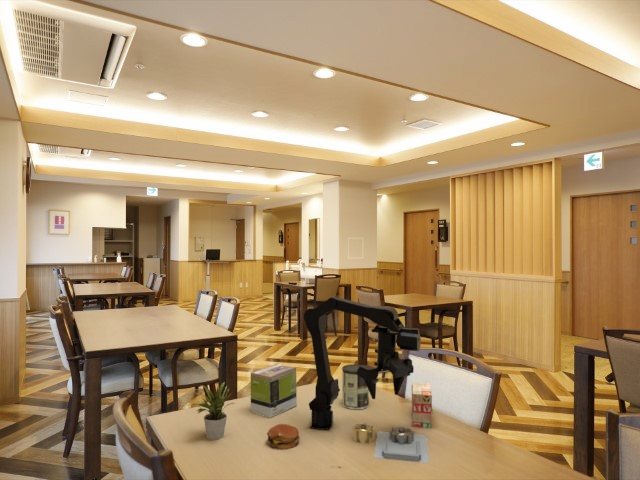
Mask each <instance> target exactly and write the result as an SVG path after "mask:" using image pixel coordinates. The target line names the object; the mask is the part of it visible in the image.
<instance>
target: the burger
mask: <svg viewBox="0 0 640 480" xmlns="http://www.w3.org/2000/svg"><path fill="white" fill-rule="evenodd" d="M266 435H267V442H269V445H270V446H272V447H273V448H277V449H278V450H289V449H292V448H294V447H295V446H296V445H297V444H298V443H299V441H300V437H301V436H300V433H299V429H298V428H296V426H293V425H291V424H285V423H283V424H282V423H280V424H276V425H274V426H272V427H270V428H269V429H268V431H267V433H266Z"/></svg>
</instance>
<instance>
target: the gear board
mask: <svg viewBox="0 0 640 480" xmlns="http://www.w3.org/2000/svg"><path fill="white" fill-rule="evenodd" d="M373 458H374V459H383V460H393V461H394V460H395V461H404V462H413V463H424V464H425V463H426V464H430V457H429V449H428V440H427V435H426V434H425V435H424V434H416V433H415V434H414V441H412V443H411V444H404V445H402V444H399V443H394V442H392V441H391V439H390V431H380V430H379V431H377V435H376V442H375V449H374V455H373Z"/></svg>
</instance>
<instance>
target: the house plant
mask: <svg viewBox="0 0 640 480" xmlns="http://www.w3.org/2000/svg"><path fill="white" fill-rule="evenodd" d="M225 383H226V382H225V381H224V382H222V383H221V384H220V385H218V386H217V388H216V390H215V394H213V393H212V390H211V389H209V388H207V387H206V386H205V385H201V386H202V387H203V388H204V389H205V391H206V393H207V396H208V397H207V396H205V395H204V394H202V393H199V392H196V395H198V396H202V397H203V398H202V400H203V402H202V403H201V402H200V403H199V402H198V403H197V402H196V403H193V406H194V408H195V407H197V408H198V409H197V410H196V412H197V414H200V413H202V412H207V414H205V415H204V416H203V419H204V420H203V421H204V427H205V432H206V433H205V434H206V438H207V439H208V440H212V441H216V440H219V439H222V438H224V435H225V430H226V425H227V419H228V418H227V417H228V415H227V413H226V412H225V411H223V410H225V408H226V407H228V406H229V405H233V404H235V405H236V403H235V402H231V403H228V404H226V405H225V402H226V401H227V400H228V398H229V397H230V396H231V395H232V393H230V394H229V391H230V388H228V389H227V387H228V385H226V384H225ZM225 385H226V386H225ZM224 386H225V387H224ZM223 389H224V390H223ZM222 392H223V393H222ZM228 394H229V395H228ZM227 395H228V396H227ZM224 405H225V406H224Z"/></svg>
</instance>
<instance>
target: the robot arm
mask: <svg viewBox="0 0 640 480" xmlns="http://www.w3.org/2000/svg"><path fill="white" fill-rule="evenodd" d="M334 311H339V312H342V313H346V314H351V315H355V316H358V317H361V318H365V319H367V320H369V321H371V322H372V323H373V324H376V325H375V326H374V328H372V329H371V332H372V333H375V334H377V348H374V353H376V356H377V357H376V361H374V366H375V367H373V366H371V365H369V364H365V365H364V366H359V367H358V369H357V375H358V376H360V377H361V378H363V379H364V381H365V383H366V385H367V387H368V390H369V396H370V397H371V399H372V400H375V399H376V396H377V394H376V393H377V392H376V391H377V383H378V382H379V380H380V379H379V378H378V377H379V374H385V373H390V374H392V382H393V384H392V385H393V391H394V395H395V396H398V395H399V392H400V391H401V387H402V385H403V383H404V380H405V379H406V378H407V377H409V376H411V374H413V373H414V370H415V369H414V365H413V360H412V359H411V358H410V357H409V358H400V354H399V351H397V350H396V349H397V348H396V347H398V348H399V350H405V351H413V352H420V349H421V344H422V338H421V333H420V328H414V327H413V328H407V327H405V325H404V324H403V322H402V321H401V320H400V317H399V314H398V311H397V309H396V308H395V307H393V306H387V305H386V306H385V305H371V304H370V305H368V304H366V303H361V302H358V301H353V300H351V299H350V300H349V299H346V298H341V297H339V296H332V297H329V298H328V299H326V301H323V302H322V303H321V304H318V305H317V306H315V307H311V308H308V309H306V310H305V312H304V313H303V321H304V324H305V327H306V329H307V331H308V333H309V335H310V336H311V343H312V349H313V351H312V352H313V356H314V362H315V370H316V376H317V378H316V384H315V392H314V393H315V394H314V395H315V397H314V398H313V399H312V400H311V401H309V402H308V407H309V410H310V411H311V424H310V426H309V427H310V429H314V430H315V429H318V430H329V431H330V429H331V427H332V426H333V424H334V411H333V410H332V405H333V404H334V401H336V400H337V398H338V397H339V394H340V393H339V392H340V391H341V389H340V387H339V379H338V378H336V379H334V377H333V375H332V372H331V366H330V359H329V351H328V346H327V338H326V332H325V331H326V327H327V317H328V316H329V315H330V314H332V313H333V312H334Z"/></svg>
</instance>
